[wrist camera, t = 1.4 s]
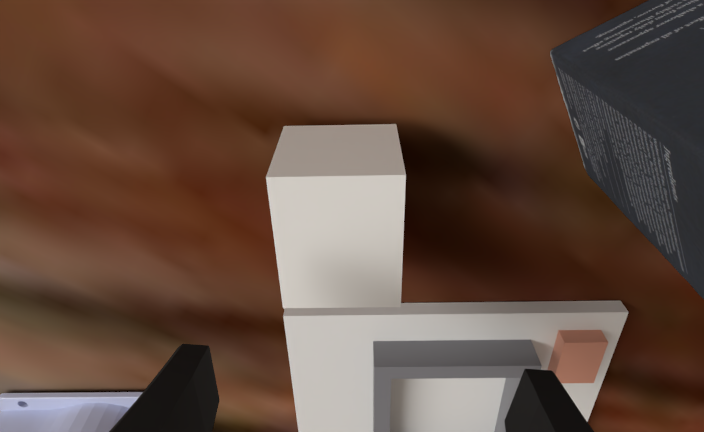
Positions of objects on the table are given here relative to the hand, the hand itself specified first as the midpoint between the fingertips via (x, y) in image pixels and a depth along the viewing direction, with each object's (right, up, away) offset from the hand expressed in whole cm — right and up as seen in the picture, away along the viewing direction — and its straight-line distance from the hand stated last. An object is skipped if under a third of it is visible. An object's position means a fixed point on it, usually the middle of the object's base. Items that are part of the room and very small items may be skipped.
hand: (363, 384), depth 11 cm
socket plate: (+5, -5, +15) cm, 17 cm away
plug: (-1, +6, +8) cm, 10 cm away
